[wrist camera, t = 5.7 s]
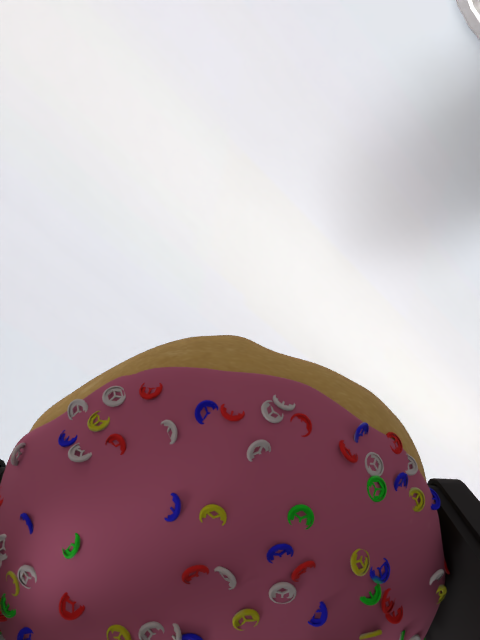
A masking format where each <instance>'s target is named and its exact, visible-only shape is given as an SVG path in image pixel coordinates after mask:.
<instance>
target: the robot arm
mask: <svg viewBox="0 0 480 640" xmlns="http://www.w3.org/2000/svg"><path fill="white" fill-rule="evenodd" d="M456 1H457V5H458V7H459V9H460V11H461V13H462V15H463V17H464V19H465V20H466V22H467V24H468V26H469V27H470V29H471V30H472V31H473V32H474V33H475V35H476V36H477V37H478V38H479V39H480V0H456ZM5 468H6V465H5V463H4V461H3V460H1V459H0V484H1V480H2V477H3V474H4V471H5ZM427 485H428V487H429V488H431V489H433V490H434V491H435V492H436V493H437V495H438V496H439V498H440V507H439V509H437V512H438V517H439V523H440V530H441V537H442V545H443V552H444V558H445V562H446V564H447V568H448V570H449V571H450V574H447V573H446V572H445V586H446V588H447V592H446V595H445V597H444V599H443V600H442V601H441V602H440V605H439V607H438V610H437V612H436V615H435V617H434V619H433V621H432V623H431V625H430V627H429V630H428V632H427V634H426V636H425V639H426V640H480V501H479V500H478V499H477V498H476V497H475V496H474V494H473V493H472V492H471V491H470V490H469V488H468V487H467V486H466V485H465V484H464V483H463V482H462V481H461V480H458V479H436V478H433V479H430V480H429V482H428V483H427ZM432 496H433V495H432ZM433 498H434V497H433ZM434 502H435V500H434Z"/></svg>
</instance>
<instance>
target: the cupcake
mask: <svg viewBox="0 0 480 640" xmlns="http://www.w3.org/2000/svg"><path fill="white" fill-rule="evenodd" d="M432 495H433V496H432ZM433 497H434V498H433ZM434 500H435V502H434ZM439 507H440V498H439V496H438V495H437V493H436V492H435V491H434V490H433V489H431V488H429V487H428V485H427V482H426V477H425V473H424V469H423V465H422V462H421V459H420V457H419V454H418V452H417V449H416V447H415V445H414V443H413V441H412V439H411V437H410V436H409V434H408V432H407V431H406V429H405V427H404V426H403V425H402V423H401V422H400V420H399V419H398V418H397V417H396V416H395V415H394V414H393V413H392V411H391V410H390V409H389V408H388V407H387V406H386V405H385V404H384V403H383V402H382V401H381V400H380V399H379V398H378V397H376V396H375V395H374V394H373V393H372V392H370V391H369V390H367V389H366V388H364V387H362V386H361V385H359V384H357V383H355V382H353V381H351V380H350V379H348V378H346V377H344V376H342V375H340V374H338V373H337V372H334V371H332V370H330V369H328V368H326V367H323V366H321V365H318V364H315V363H312V362H309V361H305V360H302V359H298V358H294V357H291V356H287V355H284V354H280V353H277V352H274V351H272V350H269V349H267V348H265V347H263V346H261V345H259V344H257V343H255V342H253V341H251V340H248V339H246V338H243V337H239V336H232V335H219V336H199V337H190V338H185V339H181V340H176V341H173V342H169V343H166V344H163V345H160V346H157V347H155V348H152V349H150V350H147V351H145V352H143V353H140V354H138V355H136V356H134V357H132V358H130V359H128V360H126V361H124V362H122V363H120V364H119V365H117V366H115V367H113V368H111V369H109V370H108V371H106V372H104V373H102V374H101V375H99V376H97V377H96V378H94V379H92V380H91V381H89V382H87V383H86V384H84V385H83V386H81V387H80V388H78V389H77V390H75V391H74V392H72V393H71V394H69V395H68V396H66V397H65V398H63V399H62V400H60V401H59V402H57V403H56V404H55V405H53V406H52V407H51V408H49V409H48V410H47V411H46V412H45V413H44V414H43V415H42V416H41V417H40V418H39V419H38V420H37V421H36V423H35V424H34V425H33V427H32V429H31V430H30V432H29V433H28V434H26V435H25V436H24V437H23V438H22V439H21V440H20V441H19V442H18V443H17V445H16V446H15V448H14V449H13V451H12V453H11V455H10V458H9V460H8V462H7V465H6V468H5V471H4V474H3V477H2V480H1V484H0V640H426V639H425V636H426V634H427V632H428V630H429V627H430V625H431V623H432V621H433V619H434V617H435V615H436V612H437V610H438V607H439V605H440V602H441V601H442V600H443V599H444V597H445V595H446V592H447V588H446V586H445V572H446V573H447V574H450V571H449V570H448V568H447V564H446V562H445V558H444V552H443V545H442V537H441V530H440V523H439V517H438V512H437V509H439Z"/></svg>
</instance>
